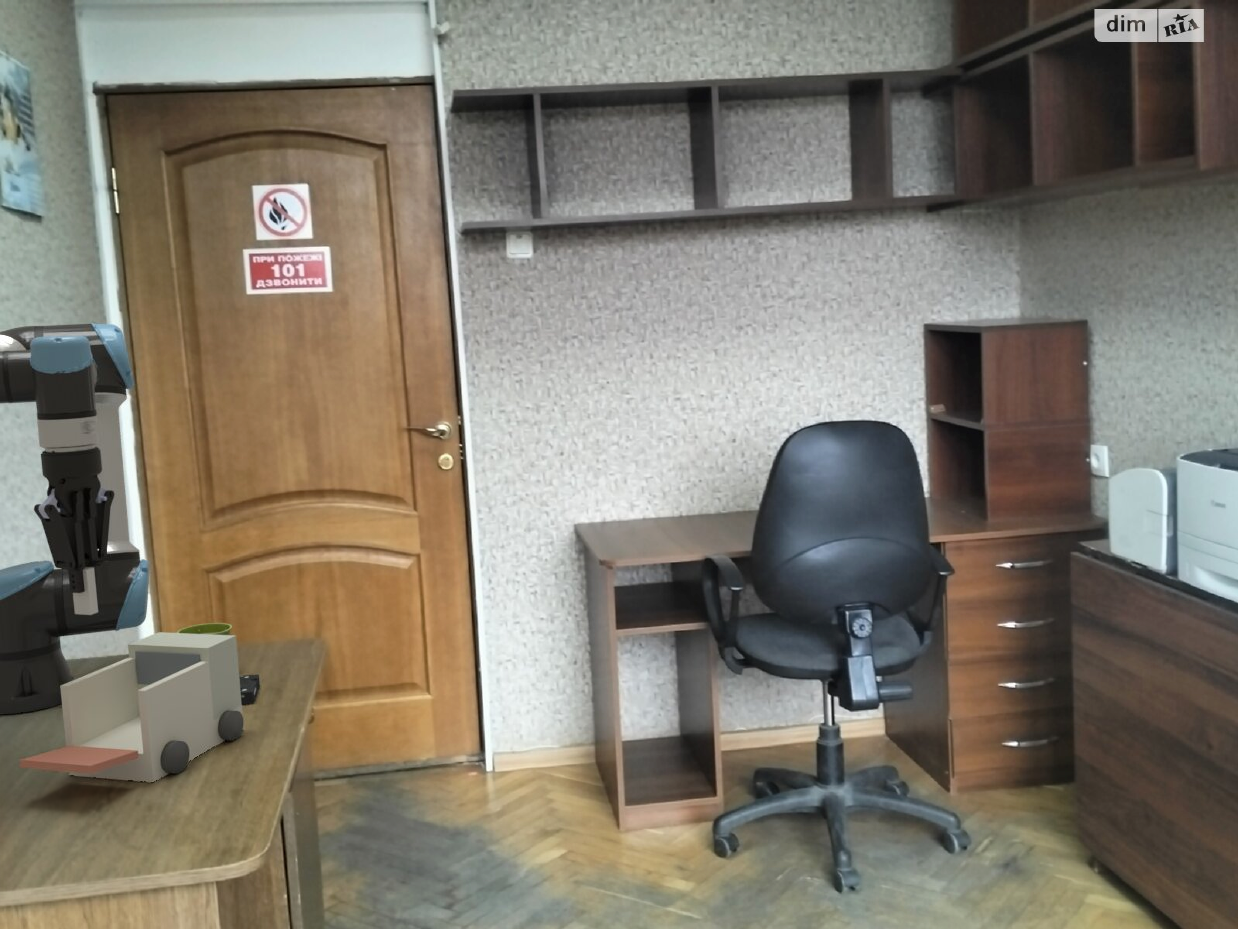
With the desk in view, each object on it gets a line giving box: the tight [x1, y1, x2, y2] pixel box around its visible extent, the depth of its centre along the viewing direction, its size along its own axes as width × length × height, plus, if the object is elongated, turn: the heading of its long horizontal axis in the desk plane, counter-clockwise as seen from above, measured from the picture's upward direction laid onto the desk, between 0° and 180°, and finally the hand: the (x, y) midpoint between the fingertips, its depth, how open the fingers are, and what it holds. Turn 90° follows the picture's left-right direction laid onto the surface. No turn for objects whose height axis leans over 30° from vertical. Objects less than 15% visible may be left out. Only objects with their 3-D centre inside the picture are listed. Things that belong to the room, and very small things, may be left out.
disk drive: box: [239, 673, 261, 706], centre depth 193 cm, size 10×3×15 cm
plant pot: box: [176, 622, 233, 635], centre depth 207 cm, size 9×9×9 cm
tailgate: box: [19, 745, 138, 774], centre depth 153 cm, size 11×1×9 cm
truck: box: [60, 631, 244, 783], centre depth 168 cm, size 17×21×15 cm
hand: (86, 613), depth 162 cm, fingers closed
